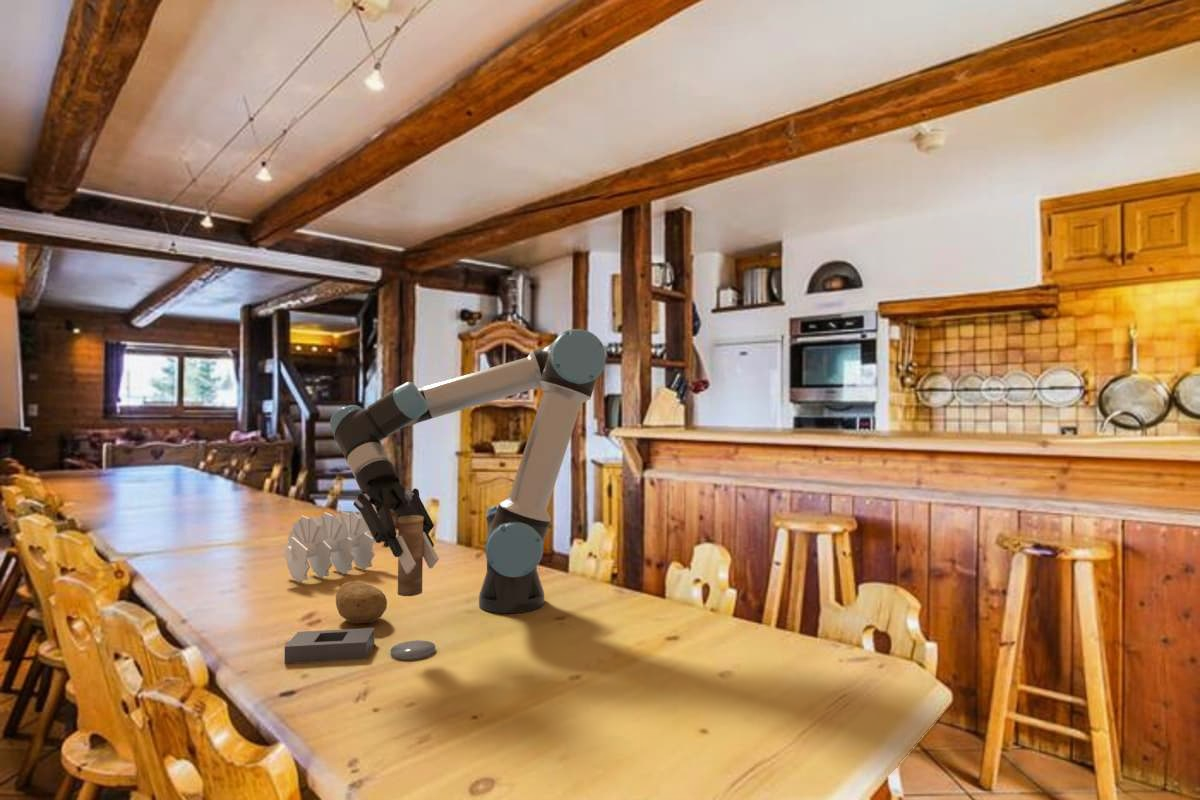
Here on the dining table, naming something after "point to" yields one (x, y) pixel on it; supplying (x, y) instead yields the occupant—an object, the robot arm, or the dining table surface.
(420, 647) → the coaster
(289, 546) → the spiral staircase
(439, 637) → the dining table surface
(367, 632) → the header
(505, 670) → the dining table surface
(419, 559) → the plug
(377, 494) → the robot arm
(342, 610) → the potato
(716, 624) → the dining table surface
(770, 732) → the dining table surface
